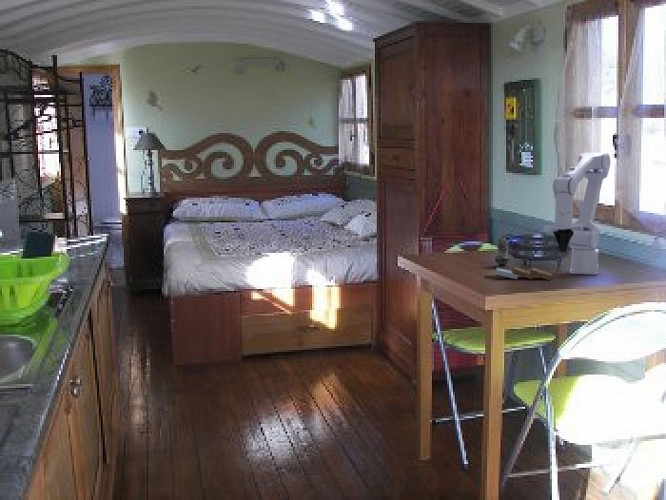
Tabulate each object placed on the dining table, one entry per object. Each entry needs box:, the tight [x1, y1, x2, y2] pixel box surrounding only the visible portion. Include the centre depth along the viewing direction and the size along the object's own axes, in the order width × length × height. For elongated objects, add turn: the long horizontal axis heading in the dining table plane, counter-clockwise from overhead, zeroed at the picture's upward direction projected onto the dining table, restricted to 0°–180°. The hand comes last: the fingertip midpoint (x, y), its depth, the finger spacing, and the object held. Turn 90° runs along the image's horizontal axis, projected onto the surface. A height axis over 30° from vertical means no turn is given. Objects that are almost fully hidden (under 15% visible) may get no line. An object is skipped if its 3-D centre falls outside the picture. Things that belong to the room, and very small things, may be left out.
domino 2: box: [494, 267, 519, 280], centre depth 271 cm, size 2×4×7 cm
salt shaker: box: [493, 235, 511, 269], centre depth 292 cm, size 6×6×12 cm
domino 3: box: [511, 266, 535, 280], centre depth 271 cm, size 2×4×7 cm
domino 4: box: [530, 267, 553, 281], centre depth 269 cm, size 2×4×7 cm
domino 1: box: [485, 272, 507, 280], centre depth 274 cm, size 2×4×7 cm
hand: (562, 251), depth 266 cm, fingers closed
